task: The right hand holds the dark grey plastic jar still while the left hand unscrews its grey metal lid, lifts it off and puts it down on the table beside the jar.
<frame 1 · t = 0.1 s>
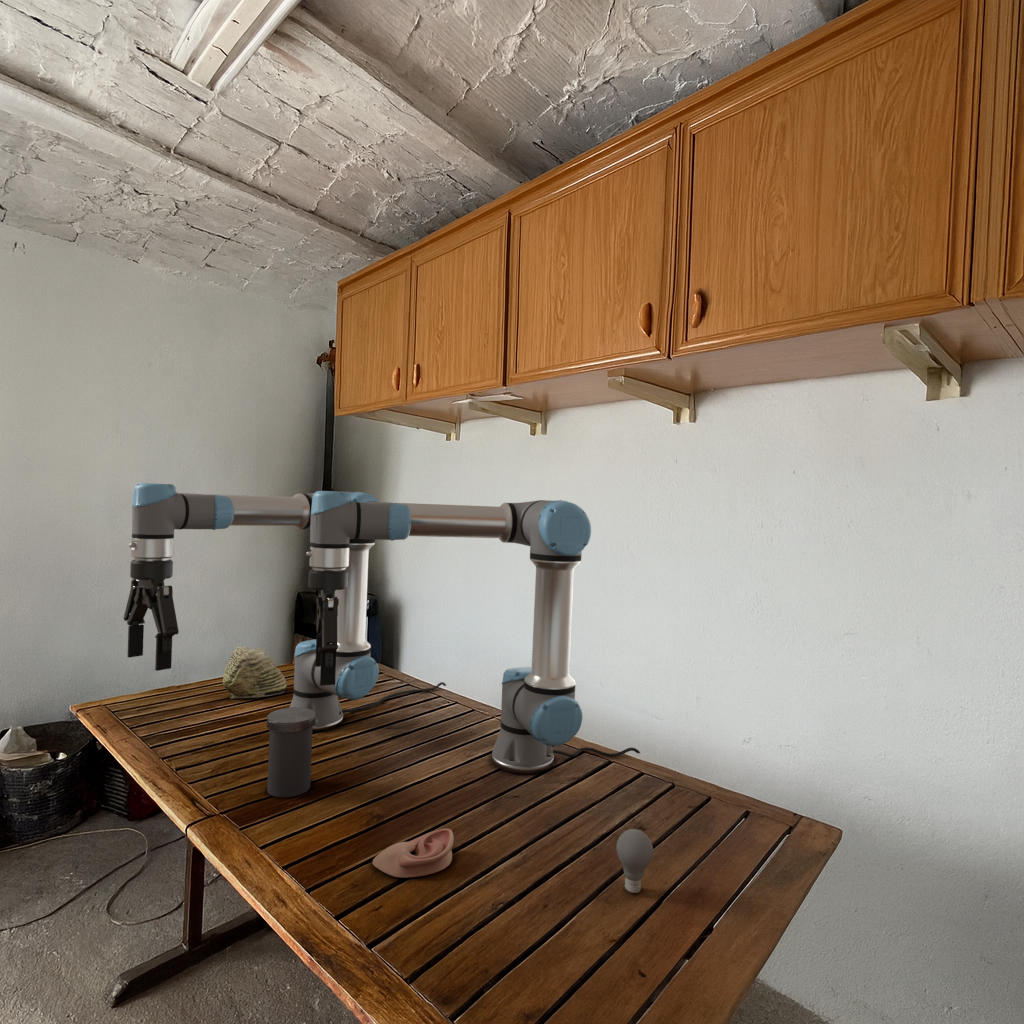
left hand: (148, 662, 129), 28 cm above the table, tool pointing down, fingers open, 13 cm apart
right hand: (324, 675, 126), 28 cm above the table, tool pointing down, fingers open, 13 cm apart
jar: (289, 787, 137), on the table
lid: (291, 716, 137), point 16 cm above the table, screwed on, not yet turned
fossil: (254, 694, 198), on the table
anatomical model: (413, 861, 112), on the table
light bulb: (632, 891, 106), on the table
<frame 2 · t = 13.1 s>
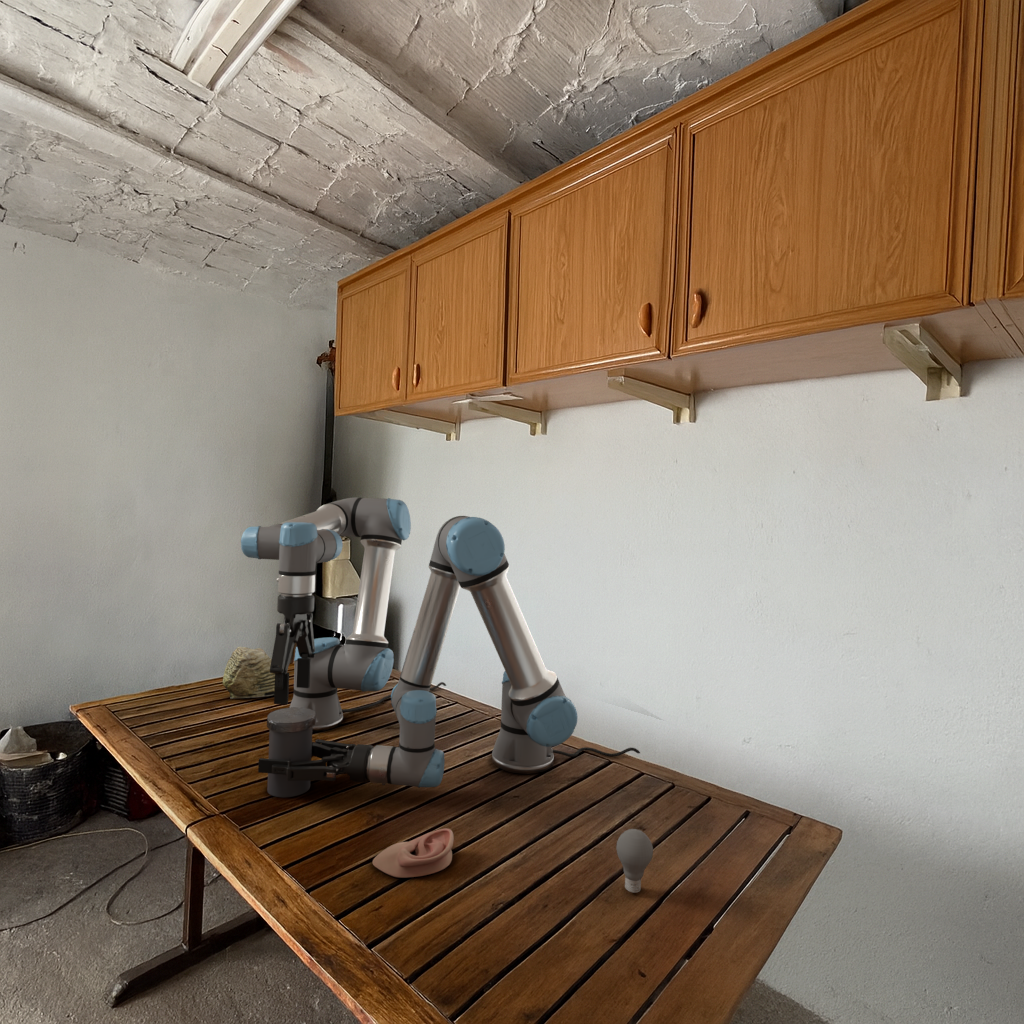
left hand: (292, 695, 137), 20 cm above the table, tool pointing down, fingers open, 11 cm apart
right hand: (269, 756, 137), 7 cm above the table, tool horizontal, fingers closed on jar, 9 cm apart
jar: (289, 787, 137), on the table, touching right hand
everything else where it was.
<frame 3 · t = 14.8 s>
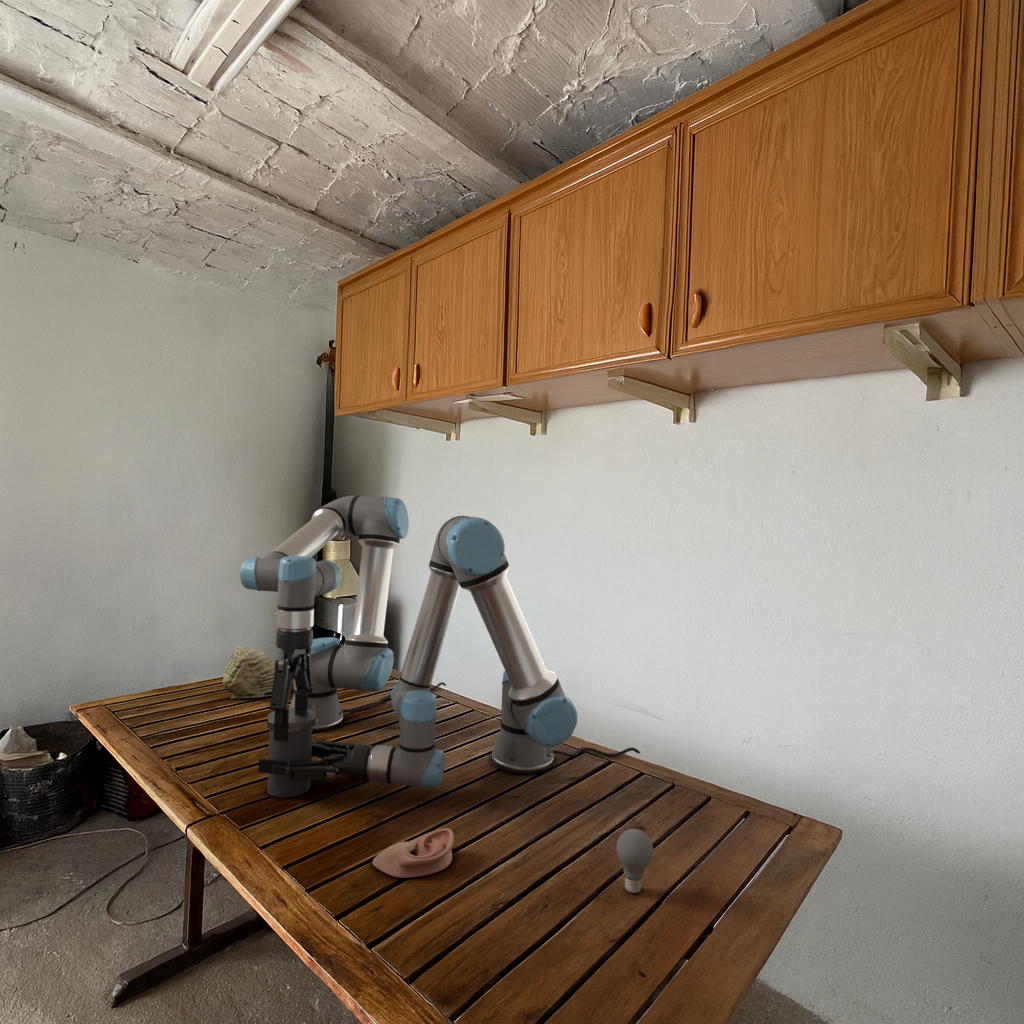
left hand: (291, 731, 137), 12 cm above the table, tool pointing down, fingers closed on lid, 10 cm apart
right hand: (269, 756, 137), 7 cm above the table, tool horizontal, fingers closed on jar, 9 cm apart
jar: (289, 787, 137), on the table, touching right hand
lid: (291, 716, 137), point 16 cm above the table, screwed on, not yet turned, touching left hand
everything else where it was.
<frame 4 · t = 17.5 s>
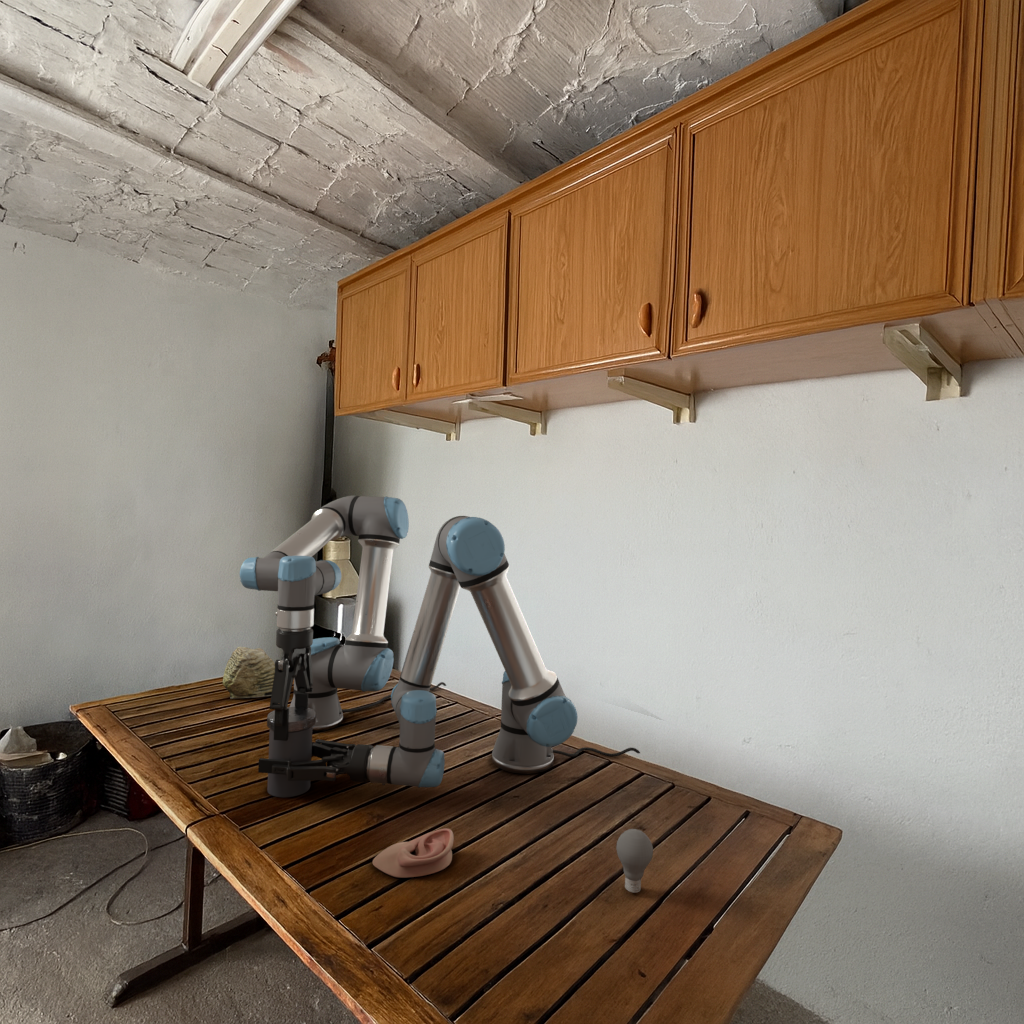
left hand: (291, 730, 137), 13 cm above the table, tool pointing down, fingers closed on lid, 10 cm apart
right hand: (269, 756, 137), 7 cm above the table, tool horizontal, fingers closed on jar, 9 cm apart
jar: (289, 787, 137), on the table, touching right hand
lid: (291, 715, 137), point 16 cm above the table, turned 59° so far, risen 0.1 cm, still on its thread, touching left hand
everything else where it was.
when the left hand's fingers open (0 cm above the table, at t = 23.5 s): lid drops 2 cm, point 2 cm above the table.
when the right hand's fingers open (7 cm above the table, at t = 24.5 s): jar stays where it is, on the table.
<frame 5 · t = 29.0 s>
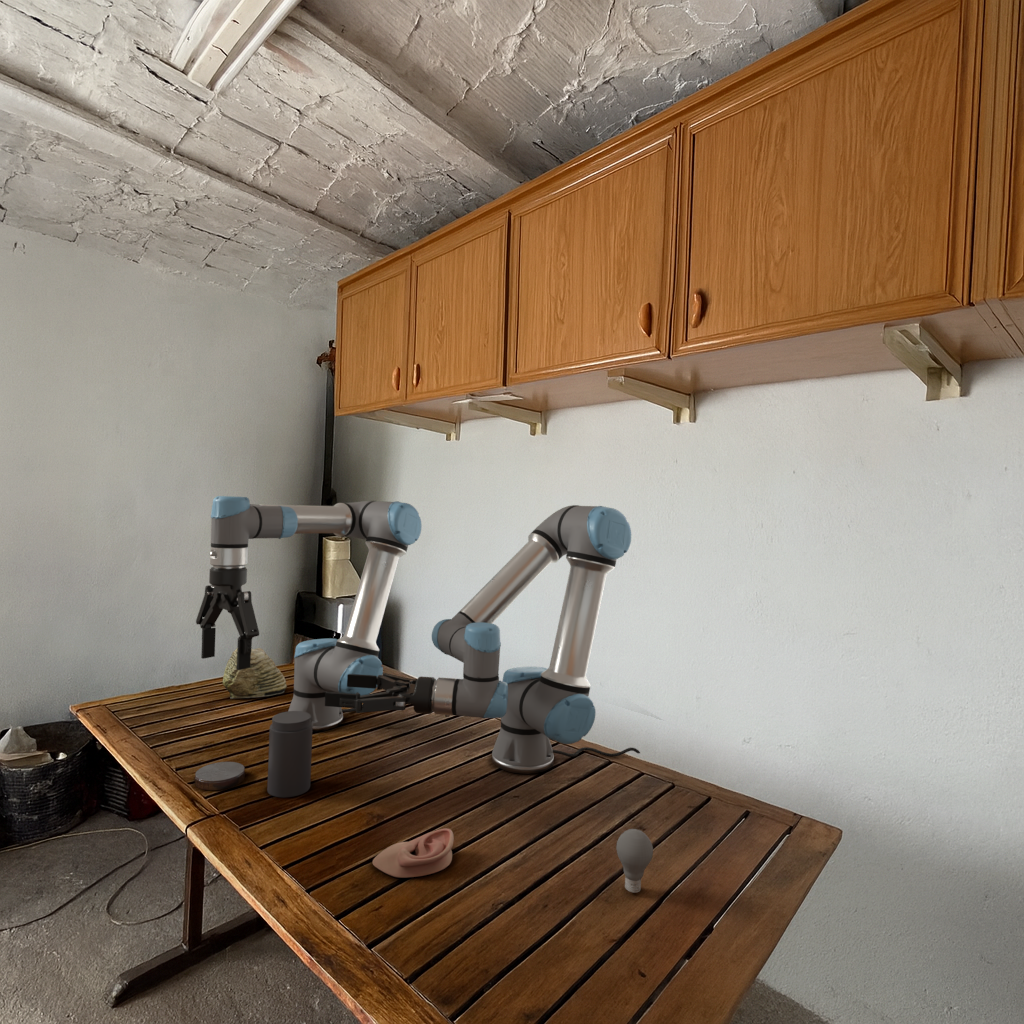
left hand: (225, 663, 139), 26 cm above the table, tool pointing down, fingers open, 13 cm apart
right hand: (337, 689, 136), 22 cm above the table, tool horizontal, fingers open, 13 cm apart
jar: (289, 788, 137), on the table
lid: (220, 772, 139), point 2 cm above the table, off its thread
everything else where it was.
at the end: lid came off its thread; lid point 1.7 cm above the table; the left hand is holding nothing; the right hand is holding nothing; jar tilted 0°; jar moved 0.0 cm from its start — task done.
